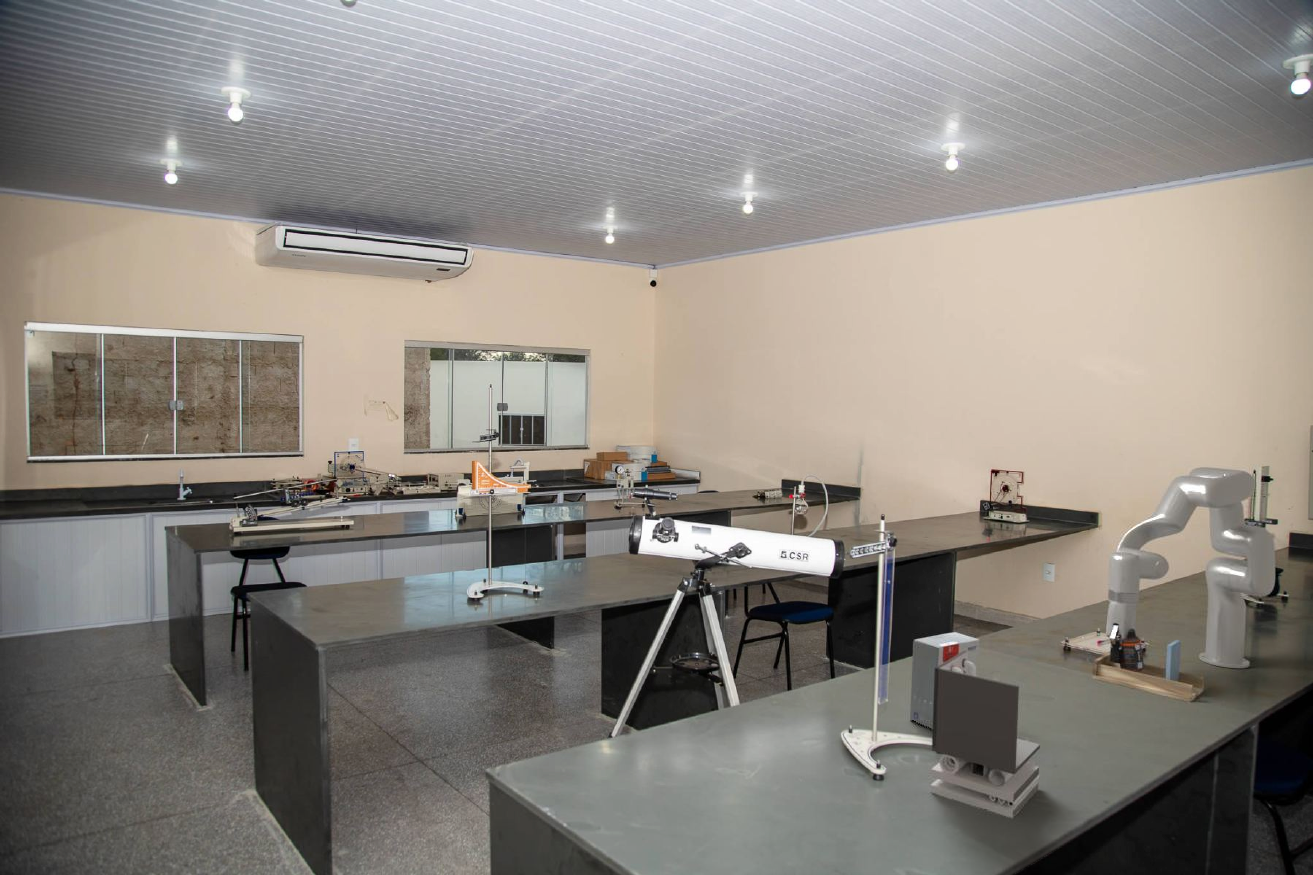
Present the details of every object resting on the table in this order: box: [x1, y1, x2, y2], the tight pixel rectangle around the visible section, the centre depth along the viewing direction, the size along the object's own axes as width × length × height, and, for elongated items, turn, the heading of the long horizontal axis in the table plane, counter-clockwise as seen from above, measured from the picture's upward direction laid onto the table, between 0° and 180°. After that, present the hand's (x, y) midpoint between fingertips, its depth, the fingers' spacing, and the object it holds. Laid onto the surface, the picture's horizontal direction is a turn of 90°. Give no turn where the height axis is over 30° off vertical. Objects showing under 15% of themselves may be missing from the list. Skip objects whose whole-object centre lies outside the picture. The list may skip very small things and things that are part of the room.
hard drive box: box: [909, 631, 980, 730], centre depth 204 cm, size 16×8×20 cm, turn 122°
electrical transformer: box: [930, 651, 1041, 818], centre depth 168 cm, size 16×19×25 cm
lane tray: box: [1091, 651, 1205, 703], centre depth 232 cm, size 13×24×5 cm, turn 43°
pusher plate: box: [1165, 639, 1181, 682], centre depth 227 cm, size 8×1×12 cm, turn 133°
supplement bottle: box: [1117, 629, 1145, 672], centre depth 235 cm, size 6×6×11 cm
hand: (1120, 659), depth 237 cm, fingers closed on supplement bottle, 5 cm apart
